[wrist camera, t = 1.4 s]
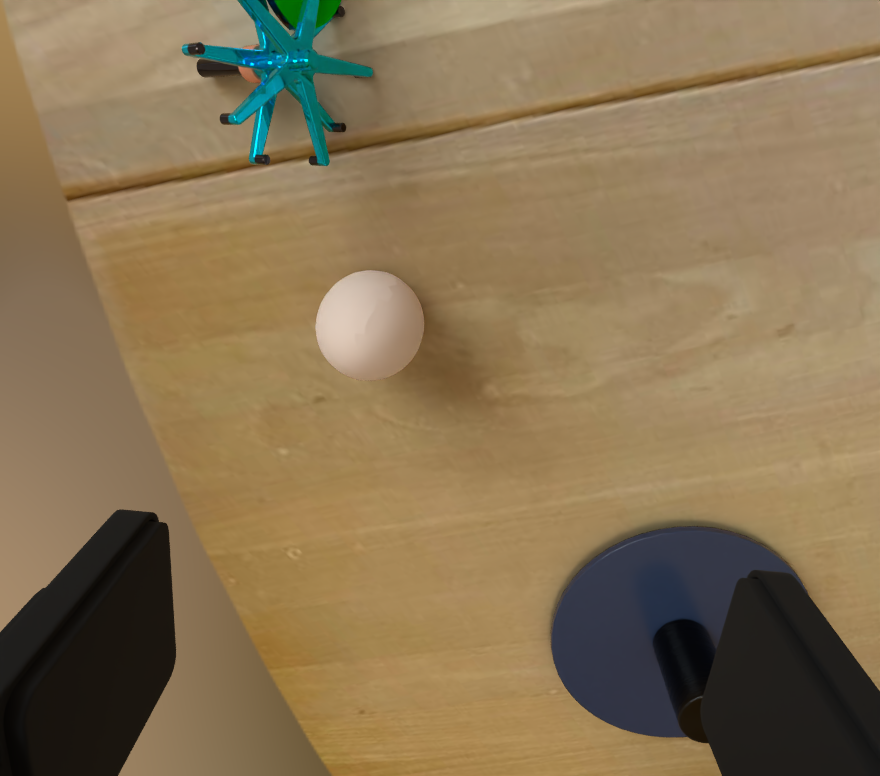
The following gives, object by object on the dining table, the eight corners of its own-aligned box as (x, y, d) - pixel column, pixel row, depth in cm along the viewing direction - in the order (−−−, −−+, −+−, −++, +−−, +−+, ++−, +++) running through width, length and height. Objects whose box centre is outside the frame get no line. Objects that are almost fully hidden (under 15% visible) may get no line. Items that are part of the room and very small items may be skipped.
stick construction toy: (359, 195, 30) (208, 129, 23) (256, 186, 34) (102, 128, 27) (417, -90, 29) (275, -240, 22) (303, -65, 33) (155, -186, 26)
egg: (313, 315, 34) (275, 357, 28) (369, 238, 33) (343, 265, 26) (390, 372, 35) (371, 425, 29) (448, 300, 34) (441, 340, 27)
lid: (813, 508, 37) (880, 585, 30) (800, 715, 42) (856, 817, 35) (539, 532, 38) (550, 610, 32) (559, 729, 43) (572, 830, 37)
